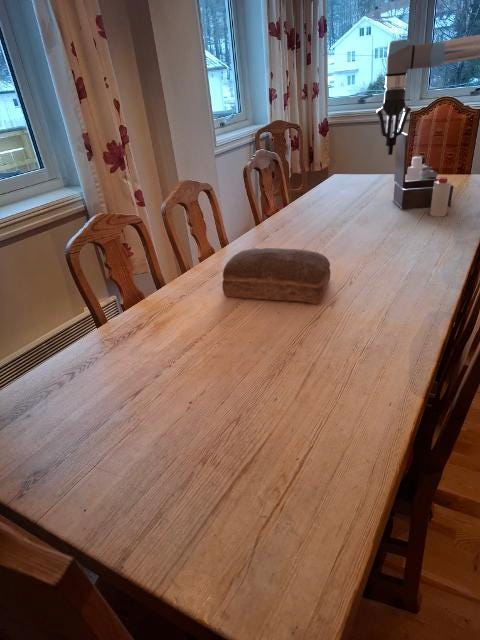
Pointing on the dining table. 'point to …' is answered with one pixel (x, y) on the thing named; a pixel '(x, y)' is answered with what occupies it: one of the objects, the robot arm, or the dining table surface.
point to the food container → (428, 173)
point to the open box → (416, 194)
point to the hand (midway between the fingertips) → (389, 154)
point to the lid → (401, 159)
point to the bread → (277, 275)
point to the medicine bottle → (415, 168)
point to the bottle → (440, 197)
